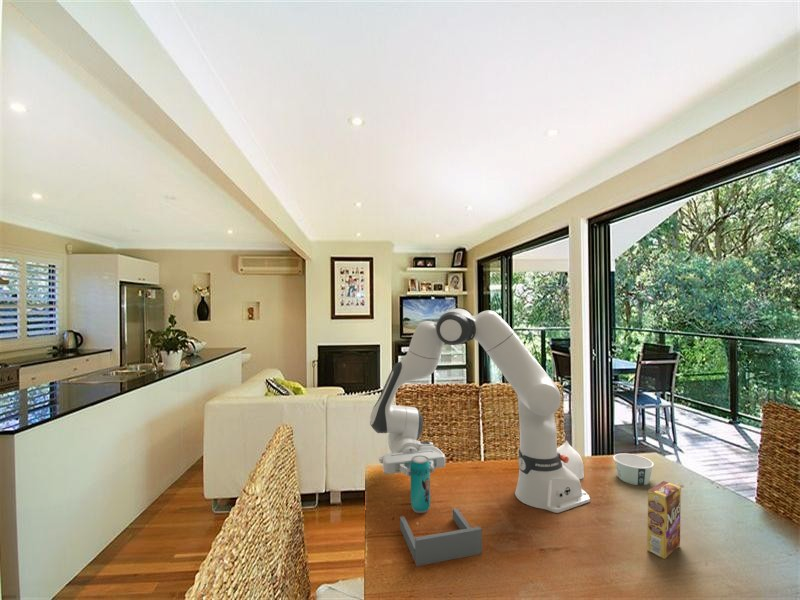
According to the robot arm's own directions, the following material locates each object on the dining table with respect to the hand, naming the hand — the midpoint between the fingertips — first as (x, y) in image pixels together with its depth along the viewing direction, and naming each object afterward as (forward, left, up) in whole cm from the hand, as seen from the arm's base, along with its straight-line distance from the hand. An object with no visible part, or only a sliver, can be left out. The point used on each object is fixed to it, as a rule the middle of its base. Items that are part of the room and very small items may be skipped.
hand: (420, 471), depth 113 cm
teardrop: (-58, -9, -12) cm, 60 cm away
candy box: (-53, +33, -11) cm, 64 cm away
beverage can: (0, 0, -11) cm, 11 cm away
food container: (-77, +1, -12) cm, 78 cm away
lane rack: (0, +14, -11) cm, 18 cm away
